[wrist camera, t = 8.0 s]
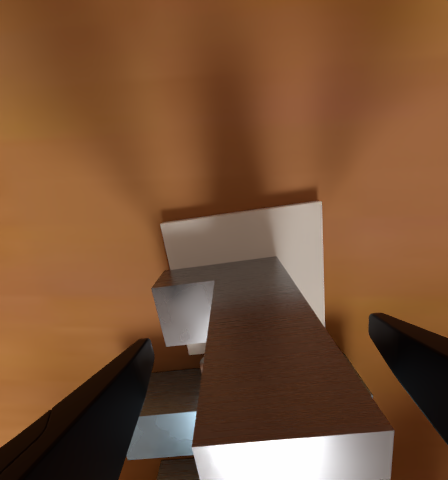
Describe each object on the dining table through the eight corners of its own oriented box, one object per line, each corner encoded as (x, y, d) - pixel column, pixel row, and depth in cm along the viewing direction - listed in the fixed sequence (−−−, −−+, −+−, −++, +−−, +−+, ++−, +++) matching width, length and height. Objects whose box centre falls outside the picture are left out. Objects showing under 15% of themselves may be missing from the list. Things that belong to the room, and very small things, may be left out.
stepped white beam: (276, 256, 12) (393, 430, 4) (281, 308, 13) (385, 552, 4) (164, 270, 13) (23, 461, 4) (176, 321, 14) (81, 567, 5)
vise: (344, 328, 14) (374, 366, 11) (344, 476, 18) (366, 533, 15) (127, 352, 15) (103, 392, 12) (169, 488, 19) (158, 545, 16)
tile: (317, 200, 12) (321, 201, 11) (321, 334, 14) (325, 340, 14) (163, 222, 12) (160, 224, 12) (190, 348, 15) (189, 355, 14)
